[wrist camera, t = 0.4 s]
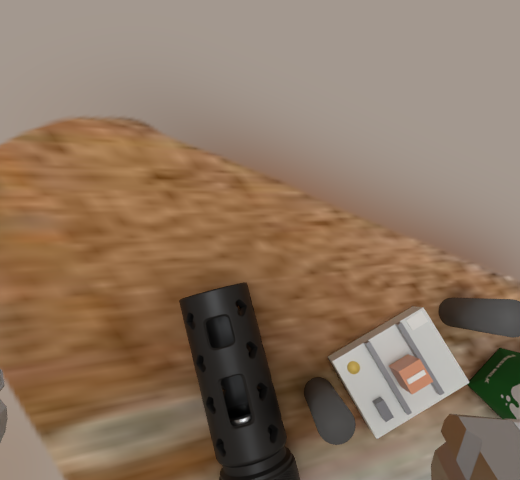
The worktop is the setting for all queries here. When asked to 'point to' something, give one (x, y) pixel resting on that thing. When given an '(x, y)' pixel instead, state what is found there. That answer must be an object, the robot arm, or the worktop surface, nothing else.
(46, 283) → the worktop surface
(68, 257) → the worktop surface
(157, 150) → the worktop surface
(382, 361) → the panel
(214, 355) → the muzzle brake
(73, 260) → the worktop surface
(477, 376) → the soya milk
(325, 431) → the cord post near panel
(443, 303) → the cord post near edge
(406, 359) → the block
